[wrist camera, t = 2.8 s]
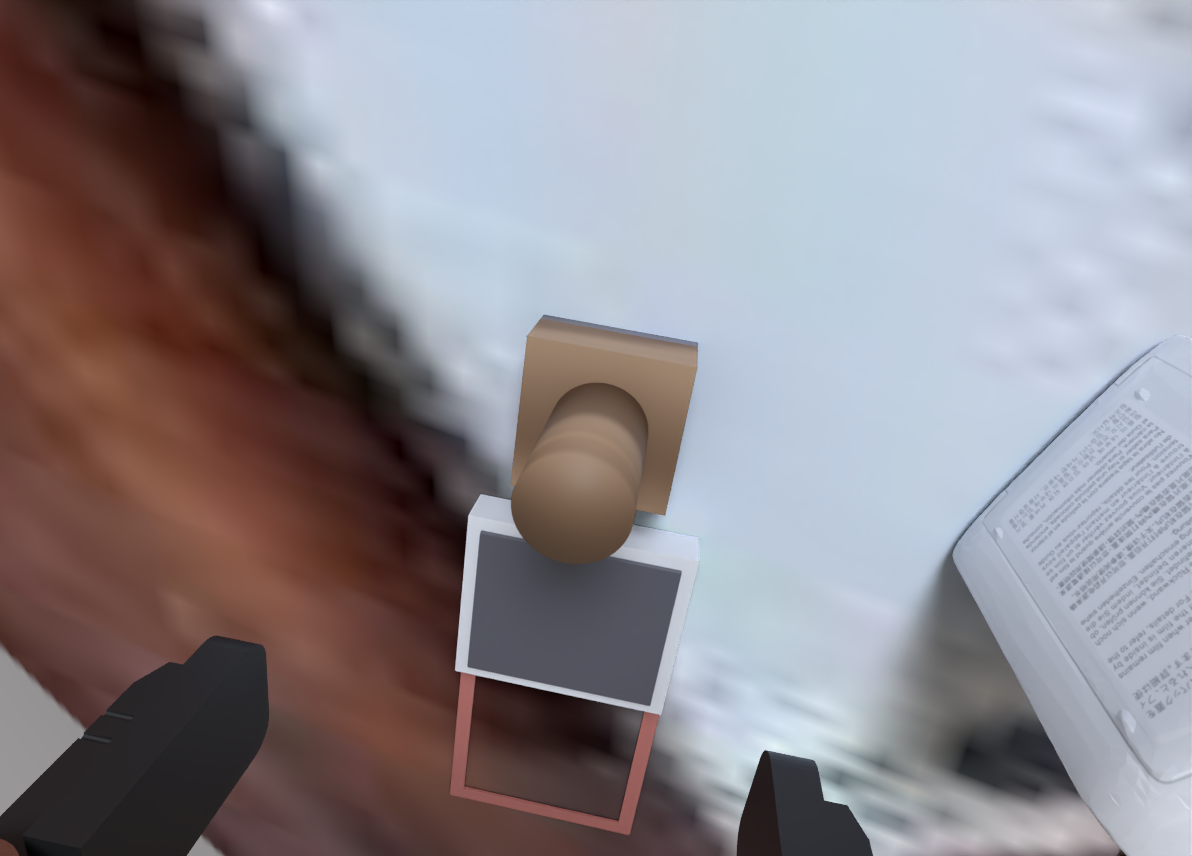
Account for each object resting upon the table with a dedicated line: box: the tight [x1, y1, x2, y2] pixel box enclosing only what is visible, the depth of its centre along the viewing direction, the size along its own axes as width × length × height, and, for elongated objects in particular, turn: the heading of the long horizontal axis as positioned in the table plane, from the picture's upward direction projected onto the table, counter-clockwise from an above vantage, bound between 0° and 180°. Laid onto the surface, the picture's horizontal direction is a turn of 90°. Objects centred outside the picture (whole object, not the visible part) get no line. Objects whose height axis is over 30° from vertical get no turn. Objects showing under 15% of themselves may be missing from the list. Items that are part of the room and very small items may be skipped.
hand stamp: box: [511, 315, 698, 564], centre depth 21 cm, size 5×5×8 cm
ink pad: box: [455, 494, 699, 715], centre depth 27 cm, size 7×8×2 cm
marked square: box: [450, 672, 659, 835], centre depth 31 cm, size 8×8×1 cm
